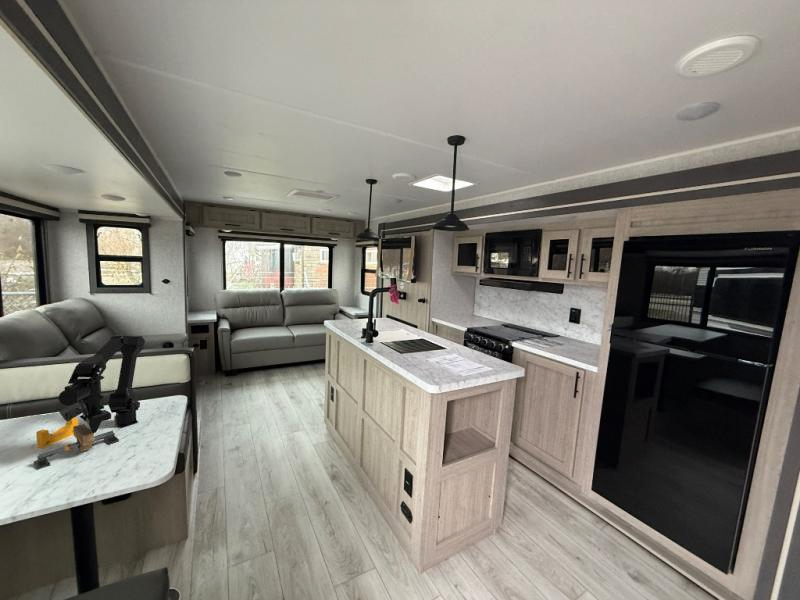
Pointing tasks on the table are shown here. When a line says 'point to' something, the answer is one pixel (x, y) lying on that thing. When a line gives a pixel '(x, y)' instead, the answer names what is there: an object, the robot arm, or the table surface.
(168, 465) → the table surface
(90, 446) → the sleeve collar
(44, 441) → the pipe clamp
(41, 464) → the grey guide rail
